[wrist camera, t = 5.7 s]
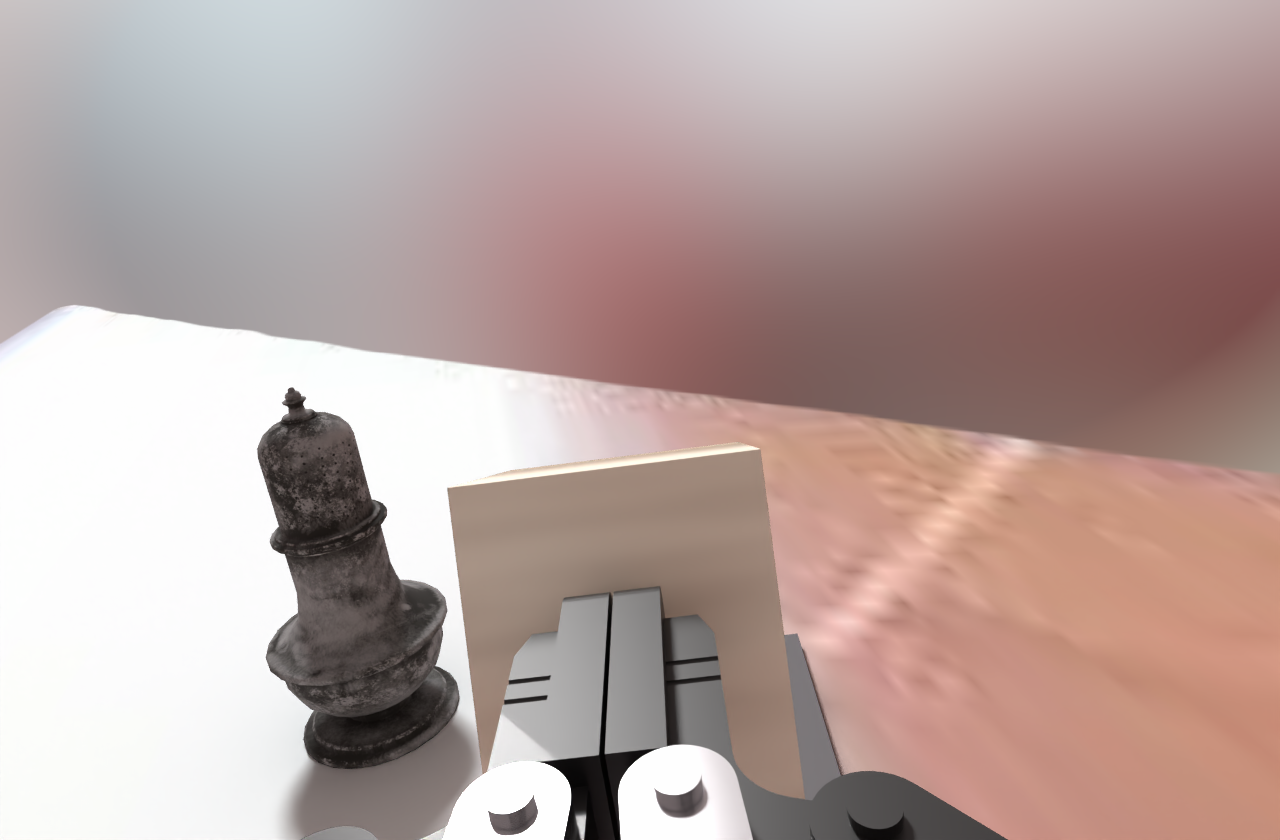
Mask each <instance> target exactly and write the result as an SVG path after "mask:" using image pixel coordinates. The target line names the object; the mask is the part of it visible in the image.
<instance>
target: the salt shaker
mask: <svg viewBox="0 0 1280 840" xmlns="http://www.w3.org/2000/svg"><path fill="white" fill-rule="evenodd" d="M285 399H286V400H285V401H283V402H282V404H283V405H285V406H288V408H289V414H286V415H284V416H283V418H282V420H281V421H280V422H278V423H277V424H275V425H273V426H272V427H271V428H270V429H269V430H268V431H267V432H266V433H265V434H264V435H263V436H262V439H261V441H260V443H259V446H258V448H257V450H258V459H259V463H260V466H261V469H262V472H263V476H264V479H265V482H266V485H267V489H268V492H269V495H270V498H271V502H272V505H273V508H274V511H275V515H276V518H277V521H278V524H279V527H278V528H277V529H276V530H275V532H274V533H273V534H272V536H271V539H270V544H271V546H272V548H273V549H274V550H275V551H277V552H279V553H282V554H285V556H286V559H287V562H288V566H289V569H290V572H291V575H292V579H293V582H294V585H295V588H296V591H297V600H298V613H297V614H296V615H294V616H293V617H291V618H290V619H289V620H288V621H287V622H286V623H285V624H284V625H283V626H282V627H281V628H280V629H279V630H278V631H277V633H276V634H275V636H274V637H273V639H272V640H271V642H270V643H269V645H268V650H267V654H266V660H267V662H268V665H269V668H270V671H271V672H272V673H274V674H275V675H276V676H277V677H279V678H280V679H281V680H284V681H285V682H286V684H287V687H288V689H289V690H290V691H291V692H292V693H293V694H294V695H295V696H296V697H298V698H299V699H300V700H301V701H302V702H303V703H304V704H305V705H306V706H308V707H309V708H310V709H312V710H314V712H313V713H312V714H311V716H310V718H309V720H308V722H307V724H306V726H305V732H304V743H305V745H306V748H307V751H308V753H309V754H310V755H311V756H312V757H313V758H314V759H315V760H316V761H318V762H319V763H322V764H325V765H328V766H331V767H336V768H351V769H352V768H360V767H367V766H374V765H377V764H380V763H383V762H387V761H390V760H393V759H396V758H398V757H400V756H402V755H404V754H406V753H408V752H410V751H413V750H415V749H416V748H418V747H419V746H421V745H422V744H424V743H425V742H427V741H428V740H429V739H431V738H432V737H434V736H435V735H436V734H437V733H438V732H439V731H440V730H441V729H442V728H443V727H444V726H445V725H446V724H447V723H448V721H449V719H450V718H451V716H452V715H453V713H454V712H455V710H456V707H457V703H458V699H459V692H458V686H457V682H456V681H455V680H454V678H453V677H452V675H451V674H450V673H448V672H447V671H445V670H443V669H441V668H440V667H436V666H435V665H436V662H437V659H438V656H439V653H440V647H441V642H442V637H443V631H442V625H443V622H444V619H445V616H446V613H447V606H446V600H445V597H444V596H443V595H442V594H441V593H440V592H439V590H438V589H436V588H434V587H432V586H430V585H428V584H426V583H423V582H417V581H412V580H400V579H399V578H398V576H397V575H396V573H395V571H394V569H393V567H392V565H391V562H390V559H389V555H388V551H387V547H386V544H385V540H384V536H383V532H382V528H381V524H382V523H383V521H384V519H385V518H386V516H387V509H386V507H385V506H384V504H383V503H381V502H378V501H376V500H371V496H370V492H369V489H368V485H367V481H366V477H365V474H364V470H363V466H362V462H361V458H360V455H359V451H358V447H357V443H356V439H355V436H354V432H353V431H352V429H351V427H350V425H349V424H348V423H347V422H346V421H344V420H343V419H342V418H340V417H339V416H336V415H332V414H329V413H326V412H315V411H314V410H312V409H305V408H304V406H303V402H304V401H305V399H306V397H305V396H301V394H300V393H299V392H298V391H295V390H294V388H289V389H288V393H286V395H285Z"/></svg>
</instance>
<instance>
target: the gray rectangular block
mask: <svg viewBox="0 0 1280 840" xmlns="http://www.w3.org/2000/svg"><path fill="white" fill-rule="evenodd" d="M784 638H785V646H786V653H787V661H788V669H789V677H790V685H791V693H792V700H793V708H794V716H795V724H796V732H797V740H798V747H799V755H800V763H801V771H802V779H803V787H804V794H805V799H806V800H813V798H814V797H815V795H816V794H817V792H818V791H819V790H820V789H821V788H822V787H823V786H824V785H825V784H827V783H828V782H830V781H831V780H833V779H835V778H837V777H840V776H841V775H840V771H839V768H838V765H837V762H836V758H835V755H834V752H833V749H832V745H831V742H830V739H829V736H828V732H827V729H826V726H825V722H824V719H823V716H822V713H821V709H820V706H819V703H818V700H817V696H816V693H815V690H814V687H813V683H812V680H811V677H810V674H809V670H808V667H807V664H806V660H805V657H804V654H803V651H802V647H801V644H800V641H799V638H798V634H790V635H784Z"/></svg>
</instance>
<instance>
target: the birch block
mask: <svg viewBox="0 0 1280 840" xmlns="http://www.w3.org/2000/svg"><path fill="white" fill-rule="evenodd" d="M447 489H448V497H449V506H450V514H451V522H452V530H453V538H454V546H455V554H456V562H457V570H458V578H459V586H460V595H461V603H462V611H463V619H464V627H465V635H466V643H467V651H468V659H469V667H470V675H471V684H472V692H473V700H474V708H475V716H476V724H477V732H478V740H479V748H480V756H481V765H482V773H483V775H485V774H487V770H488V766H489V762H490V757H491V753H492V749H493V745H494V740H495V736H496V732H497V727H498V723H499V719H500V715H501V710H502V706H503V705H504V697H505V693H506V689H507V685H509V676H510V672H511V668H512V663H513V659H514V656H515V655H516V653H517V652H518V651H519V650H520V649H521V647H522V646H523V645H524V644H525V643H526V641H527V640H528V639H529V638H530V636H531V635H532V634H538V633H546V632H555V631H558V627H559V621H560V614H561V608H562V602H563V599H564V598H565V597H573V596H581V595H590V594H598V593H606V592H611V594H612V598H613V593H614V591H622V590H630V589H638V588H647V587H655V586H660V588H661V593H662V599H663V605H664V612H665V618H672V617H680V616H688V615H697V614H698V615H699V616H700V618H701V619H702V620H703V621H704V622H705V623H706V624H707V625H708V626H709V627H710V628H711V630H712V631H713V632H714V634H715V640H716V647H717V653H718V660H719V667H720V673H721V680H722V687H723V693H724V700H725V707H726V713H727V720H728V726H729V733H730V740H731V746H732V752H733V756H734V759H735V762H736V764H737V766H738V767H739V769H740V770H741V771H742V773H743V774H744V775H745V776H746V777H747V778H749V779H750V780H751V781H752V782H754V783H755V784H757V785H758V786H760V787H762V788H764V789H766V790H768V791H770V792H773V793H776V794H779V795H783V796H788V797H793V798H799V799H805V794H804V787H803V779H802V771H801V763H800V755H799V747H798V740H797V732H796V724H795V716H794V708H793V700H792V693H791V685H790V677H789V669H788V661H787V653H786V646H785V638H784V630H783V622H782V614H781V606H780V599H779V591H778V583H777V575H776V567H775V559H774V551H773V544H772V536H771V528H770V520H769V512H768V504H767V497H766V489H765V481H764V473H763V465H762V457H761V450H760V449H758V448H755V447H752V446H749V445H746V444H743V443H739V442H735V443H727V444H719V445H711V446H703V447H695V448H686V449H678V450H670V451H662V452H654V453H646V454H638V455H630V456H622V457H614V458H606V459H598V460H590V461H582V462H574V463H566V464H558V465H550V466H542V467H534V468H526V469H518V470H510V471H507V472H503V473H500V474H496V475H492V476H489V477H485V478H482V479H478V480H474V481H471V482H467V483H464V484H460V485H456V486H453V487H449V488H447Z"/></svg>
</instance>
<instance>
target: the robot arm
mask: <svg viewBox="0 0 1280 840" xmlns="http://www.w3.org/2000/svg"><path fill="white" fill-rule="evenodd" d="M301 840H378V839H377V838H376V837H375V836H374V835H373V834H372V833H371V832H369V831H367V830H365V829H363V828H359V827H353V826H339V827H333V828H328V829H325V830H321V831H318V832H315V833H313V834H311V835H309V836H306V837H304V838H303V839H301ZM418 840H1007V839H1006V838H1004V837H1002V836H1001V835H999V834H997V833H996V832H994V831H992V830H991V829H989V828H987V827H986V826H984V825H982V824H981V823H979V822H977V821H976V820H974V819H972V818H971V817H969V816H967V815H966V814H964V813H962V812H961V811H959V810H957V809H956V808H954V807H952V806H951V805H949V804H947V803H946V802H944V801H943V800H941V799H939V798H938V797H936V796H934V795H933V794H931V793H929V792H928V791H926V790H924V789H923V788H921V787H919V786H918V785H916V784H914V783H912V782H910V781H908V780H906V779H904V778H901V777H899V776H896V775H893V774H888V773H884V772H875V771H860V772H854V773H849V774H846V775H842V776H840V777H837V778H835V779H833V780H831V781H830V782H828V783H827V784H825V785H824V786H823V787H822V788H821V789H820V790H819V791H818V792H817V794H816V795H815V797H814V798H813V800H806V799H799V798H793V797H788V796H783V795H779V794H776V793H773V792H770V791H768V790H766V789H764V788H762V787H760V786H758V785H757V784H755V783H754V782H752V781H751V780H750V779H749V778H747V777H746V776H745V775H744V774H743V773H742V771H741V770H740V769H739V767H738V766H737V764H736V762H735V759H734V756H733V752H732V746H731V740H730V733H729V726H728V720H727V713H726V707H725V700H724V693H723V687H722V680H721V673H720V667H719V660H718V653H717V647H716V640H715V634H714V632H713V631H712V630H711V628H710V627H709V626H708V625H707V624H706V623H705V622H704V621H703V620H702V619H701V618H700V616H699V615H698V614H697V615H688V616H680V617H672V618H665V612H664V605H663V599H662V593H661V588H660V586H655V587H647V588H638V589H630V590H622V591H614V593H613V598H612V594H611V592H606V593H598V594H590V595H581V596H573V597H565V598H564V599H563V602H562V608H561V614H560V621H559V627H558V631H555V632H546V633H538V634H532V635H531V636H530V638H529V639H528V640H527V641H526V643H525V644H524V645H523V646H522V647H521V649H520V650H519V651H518V652H517V653H516V655H515V656H514V659H513V663H512V668H511V672H510V676H509V685H507V689H506V693H505V697H504V705H503V706H502V710H501V715H500V719H499V723H498V727H497V732H496V736H495V740H494V745H493V749H492V753H491V757H490V762H489V766H488V770H487V774H485V775H483V776H482V777H480V778H479V779H477V780H476V781H475V782H474V783H473V784H471V785H470V786H469V787H468V788H467V789H466V790H465V792H464V793H463V794H462V796H461V797H460V798H459V800H458V802H457V804H456V806H455V808H454V811H453V814H452V816H451V819H450V822H449V825H447V826H446V827H444V828H442V829H440V830H439V831H437V832H435V833H433V834H430V835H428V836H426V837H423V838H420V839H418Z"/></svg>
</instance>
